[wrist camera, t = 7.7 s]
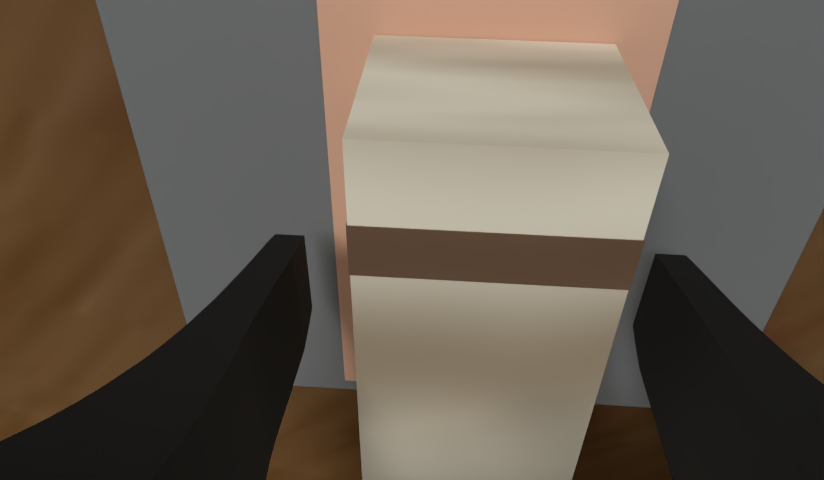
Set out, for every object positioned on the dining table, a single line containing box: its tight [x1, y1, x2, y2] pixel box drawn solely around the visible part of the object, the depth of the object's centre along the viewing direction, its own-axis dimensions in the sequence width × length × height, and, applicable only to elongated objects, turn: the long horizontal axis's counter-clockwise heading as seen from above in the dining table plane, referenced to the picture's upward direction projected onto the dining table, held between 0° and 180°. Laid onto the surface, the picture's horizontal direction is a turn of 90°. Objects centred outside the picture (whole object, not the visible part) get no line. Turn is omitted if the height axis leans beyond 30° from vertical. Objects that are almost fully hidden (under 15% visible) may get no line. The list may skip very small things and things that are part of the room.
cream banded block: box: [342, 35, 669, 480], centre depth 13 cm, size 9×4×4 cm, turn 0°
